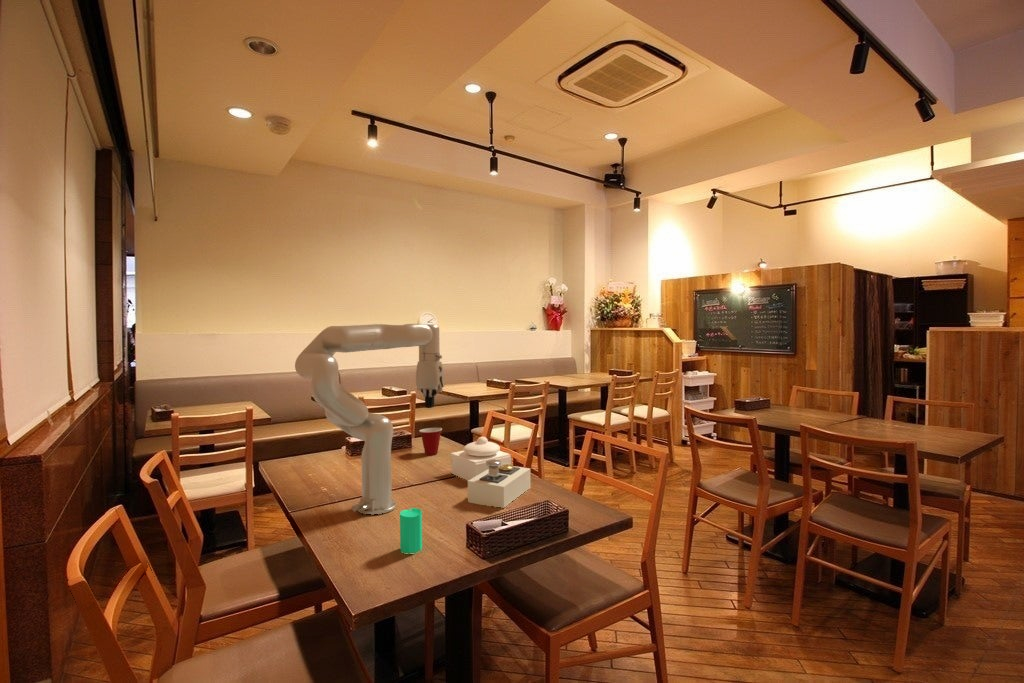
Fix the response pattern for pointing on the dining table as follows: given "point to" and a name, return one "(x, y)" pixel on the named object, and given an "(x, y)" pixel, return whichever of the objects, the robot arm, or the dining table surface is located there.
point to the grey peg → (493, 468)
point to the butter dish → (476, 458)
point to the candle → (411, 530)
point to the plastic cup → (431, 440)
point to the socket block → (499, 487)
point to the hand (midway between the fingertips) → (429, 407)
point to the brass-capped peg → (506, 467)
